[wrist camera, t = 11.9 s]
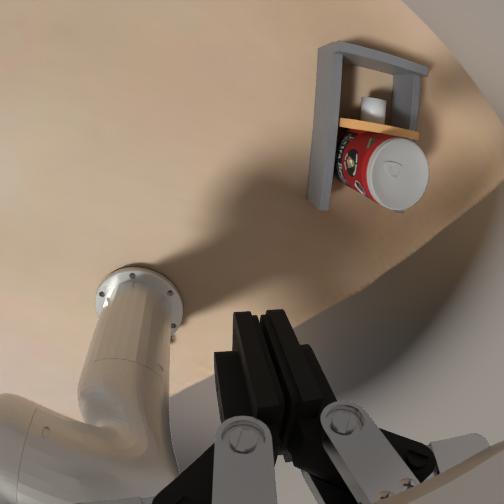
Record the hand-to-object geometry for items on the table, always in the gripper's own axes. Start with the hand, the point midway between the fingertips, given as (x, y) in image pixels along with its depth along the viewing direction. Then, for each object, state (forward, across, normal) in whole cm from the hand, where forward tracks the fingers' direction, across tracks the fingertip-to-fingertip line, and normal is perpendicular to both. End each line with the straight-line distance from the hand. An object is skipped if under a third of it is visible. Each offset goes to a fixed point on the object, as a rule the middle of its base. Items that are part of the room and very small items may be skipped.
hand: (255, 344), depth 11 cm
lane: (+29, -18, -7) cm, 35 cm away
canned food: (+29, -18, -3) cm, 35 cm away
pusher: (+29, -18, -9) cm, 36 cm away
